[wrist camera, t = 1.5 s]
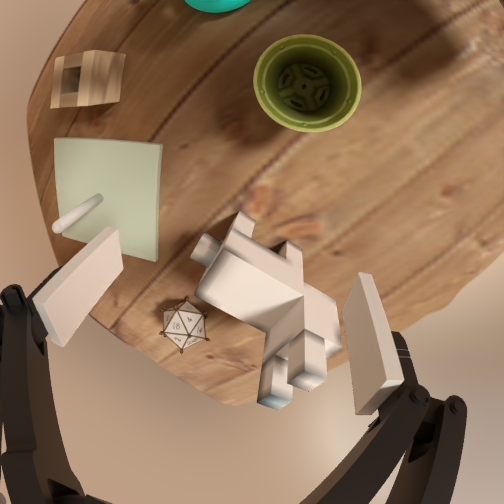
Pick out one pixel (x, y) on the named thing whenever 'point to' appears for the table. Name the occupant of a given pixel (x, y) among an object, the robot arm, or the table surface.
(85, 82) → the bead
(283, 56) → the plant pot
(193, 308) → the game die
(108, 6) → the table surface
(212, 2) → the donuts
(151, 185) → the stand
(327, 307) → the toy llama
